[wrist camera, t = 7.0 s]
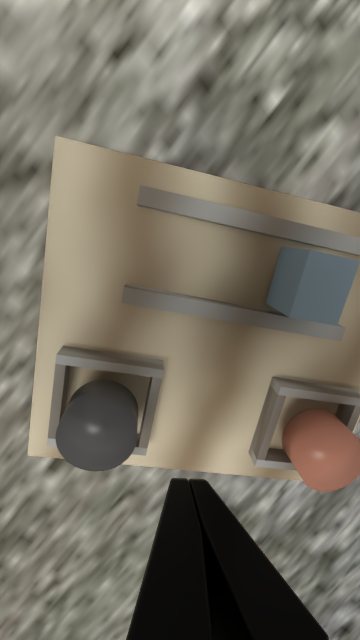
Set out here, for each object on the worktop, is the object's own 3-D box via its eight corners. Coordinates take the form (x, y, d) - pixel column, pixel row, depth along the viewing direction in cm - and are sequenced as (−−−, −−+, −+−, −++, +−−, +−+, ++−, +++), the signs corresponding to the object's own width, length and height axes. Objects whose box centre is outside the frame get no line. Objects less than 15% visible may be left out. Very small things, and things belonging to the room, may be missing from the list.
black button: (64, 436, 16) (51, 467, 14) (72, 375, 15) (59, 398, 13) (132, 443, 16) (130, 474, 14) (143, 384, 15) (142, 409, 13)
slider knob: (265, 303, 16) (288, 317, 13) (281, 246, 15) (310, 249, 13) (306, 310, 16) (336, 326, 14) (324, 256, 16) (360, 260, 13)
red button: (274, 457, 18) (291, 488, 15) (292, 405, 17) (313, 429, 15) (328, 463, 18) (352, 493, 16) (349, 412, 17) (377, 437, 15)
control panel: (39, 433, 19) (18, 471, 16) (66, 147, 15) (46, 126, 12) (316, 462, 22) (343, 498, 19) (406, 232, 18) (459, 232, 15)
